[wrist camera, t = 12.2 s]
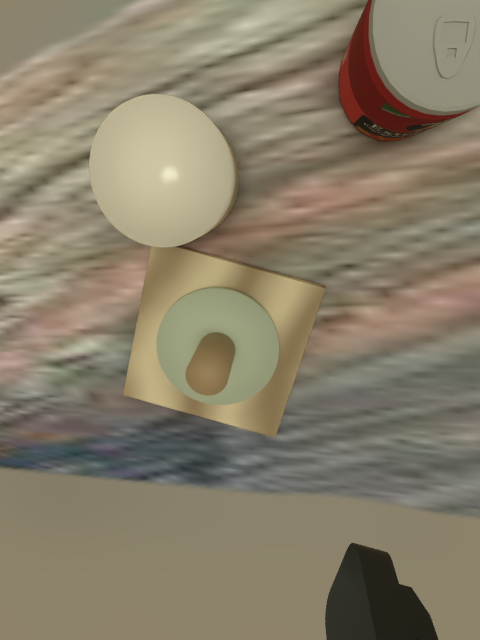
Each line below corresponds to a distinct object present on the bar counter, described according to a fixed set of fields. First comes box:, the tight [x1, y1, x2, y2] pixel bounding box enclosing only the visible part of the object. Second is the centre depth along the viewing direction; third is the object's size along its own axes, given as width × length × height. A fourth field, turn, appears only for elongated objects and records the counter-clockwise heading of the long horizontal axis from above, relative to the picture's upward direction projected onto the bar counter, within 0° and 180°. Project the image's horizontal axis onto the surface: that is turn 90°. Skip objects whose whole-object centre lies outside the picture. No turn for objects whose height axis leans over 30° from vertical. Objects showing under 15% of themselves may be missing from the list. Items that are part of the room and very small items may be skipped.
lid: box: [156, 287, 279, 405], centre depth 31 cm, size 10×10×6 cm
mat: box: [123, 246, 326, 437], centre depth 34 cm, size 14×14×1 cm
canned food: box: [339, 0, 480, 141], centre depth 23 cm, size 8×8×11 cm
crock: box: [89, 94, 240, 248], centre depth 28 cm, size 9×9×6 cm
